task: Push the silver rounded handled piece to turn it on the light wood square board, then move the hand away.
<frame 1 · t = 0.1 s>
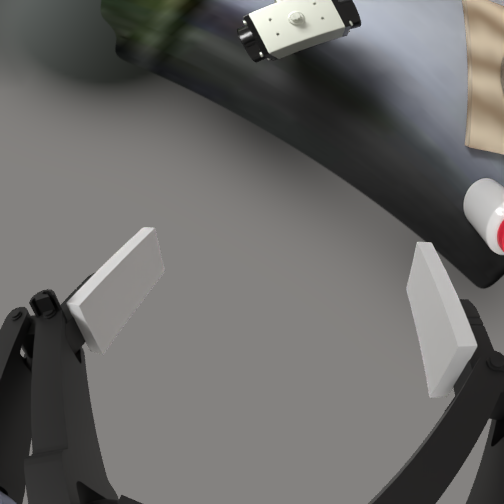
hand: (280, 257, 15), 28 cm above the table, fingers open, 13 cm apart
pneumatic valve: (302, 33, 31), on the table
pill bottle: (483, 202, 36), on the table
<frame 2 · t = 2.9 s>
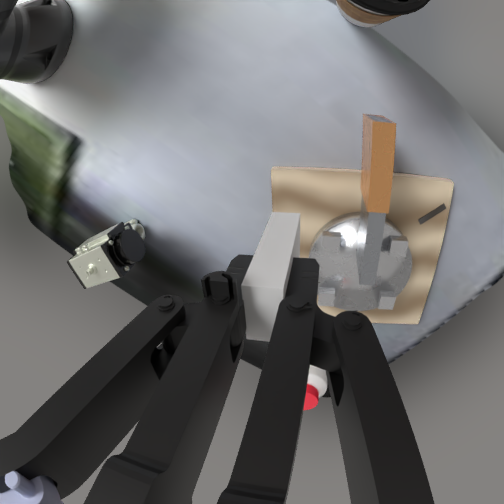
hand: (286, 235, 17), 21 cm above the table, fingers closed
pneumatic valve: (132, 227, 46), on the table
light wood square board: (358, 251, 39), on the table
pill bottle: (307, 346, 50), on the table
coffee cup: (362, 4, 24), on the table
silver rounded handled piece: (368, 233, 31), point 6 cm above the table, hinge at 0.0°
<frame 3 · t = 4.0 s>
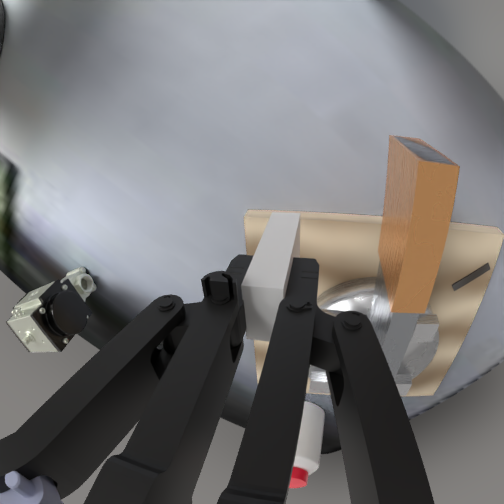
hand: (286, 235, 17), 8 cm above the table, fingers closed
pneumatic valve: (82, 275, 35), on the table
light wood square board: (366, 320, 28), on the table
pill bottle: (297, 412, 40), on the table
silver rounded handled piece: (384, 318, 21), point 6 cm above the table, hinge at 0.0°
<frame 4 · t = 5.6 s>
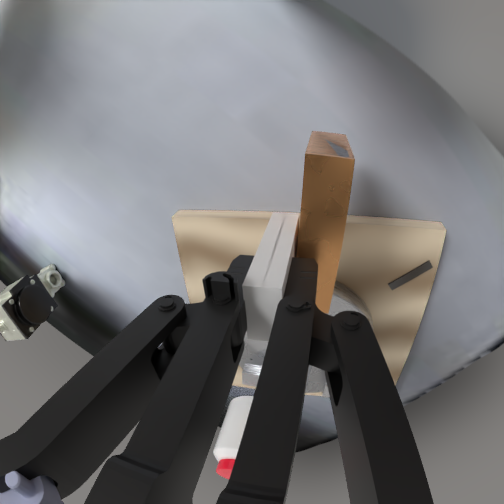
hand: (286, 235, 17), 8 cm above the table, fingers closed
pneumatic valve: (53, 272, 36), on the table
light wood square board: (305, 318, 30), on the table
pill bottle: (256, 408, 41), on the table
silver rounded handled piece: (306, 316, 22), point 6 cm above the table, hinge at 4.8°, touching gripper
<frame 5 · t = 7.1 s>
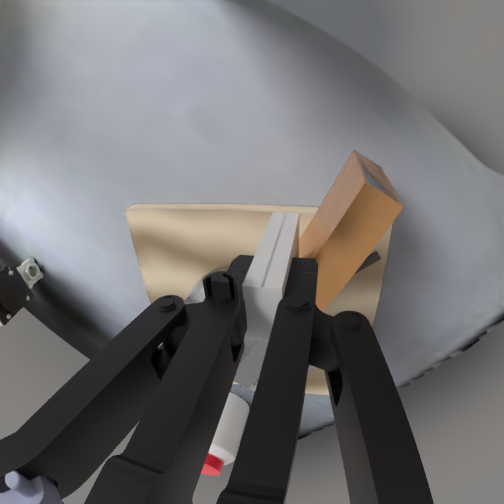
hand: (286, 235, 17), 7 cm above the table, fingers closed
pneumatic valve: (33, 265, 37), on the table
light wood square board: (257, 311, 30), on the table
pill bottle: (224, 402, 41), on the table
silver rounded handled piece: (272, 315, 22), point 6 cm above the table, hinge at 28.1°, touching gripper
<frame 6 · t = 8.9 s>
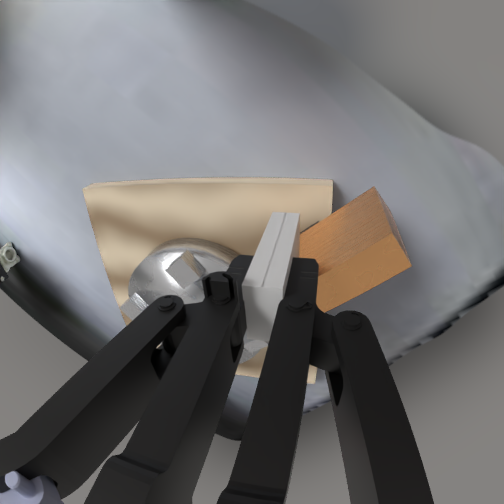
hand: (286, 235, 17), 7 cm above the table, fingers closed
pneumatic valve: (11, 249, 37), on the table
light wood square board: (208, 288, 30), on the table
silver rounded handled piece: (233, 304, 22), point 6 cm above the table, hinge at 51.8°, touching gripper
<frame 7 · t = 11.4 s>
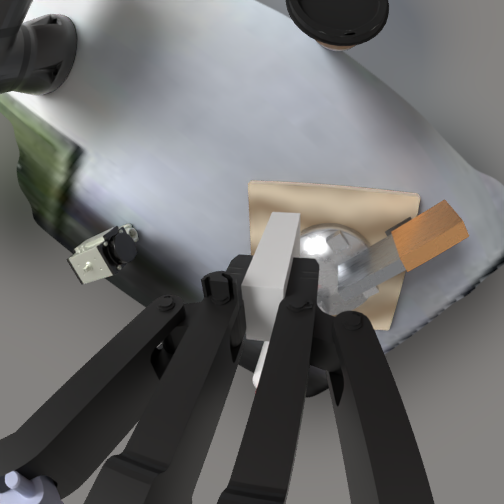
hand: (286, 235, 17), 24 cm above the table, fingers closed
pneumatic valve: (127, 230, 50), on the table
light wood square board: (329, 260, 43), on the table
pill bottle: (284, 347, 54), on the table
coffee cup: (336, 29, 28), on the table
silver rounded handled piece: (367, 263, 36), point 6 cm above the table, hinge at 51.9°
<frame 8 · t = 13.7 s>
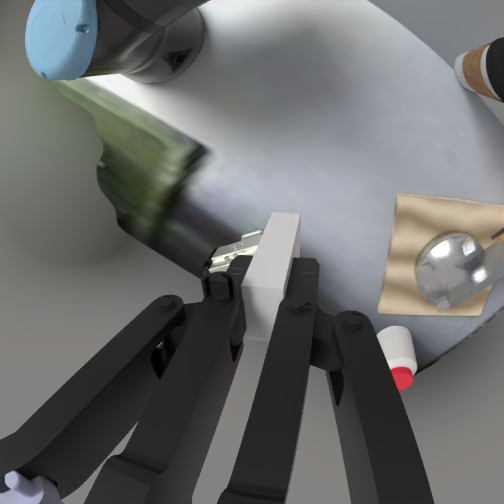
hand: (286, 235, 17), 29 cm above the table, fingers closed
pneumatic valve: (255, 236, 52), on the table
light wood square board: (446, 260, 45), on the table
pill bottle: (393, 338, 56), on the table
coffee cup: (470, 72, 30), on the table
silver rounded handled piece: (486, 262, 37), point 6 cm above the table, hinge at 51.9°
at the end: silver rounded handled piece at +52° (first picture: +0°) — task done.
